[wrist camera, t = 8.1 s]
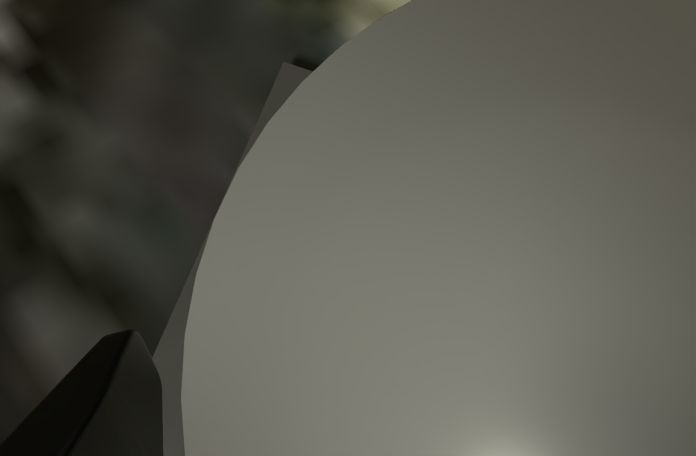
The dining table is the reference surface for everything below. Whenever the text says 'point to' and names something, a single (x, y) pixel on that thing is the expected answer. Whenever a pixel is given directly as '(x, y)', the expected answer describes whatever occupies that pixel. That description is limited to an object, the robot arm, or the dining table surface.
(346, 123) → the cream bottle
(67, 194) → the dining table surface
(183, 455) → the segmented ring base
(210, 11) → the dining table surface
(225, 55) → the dining table surface
